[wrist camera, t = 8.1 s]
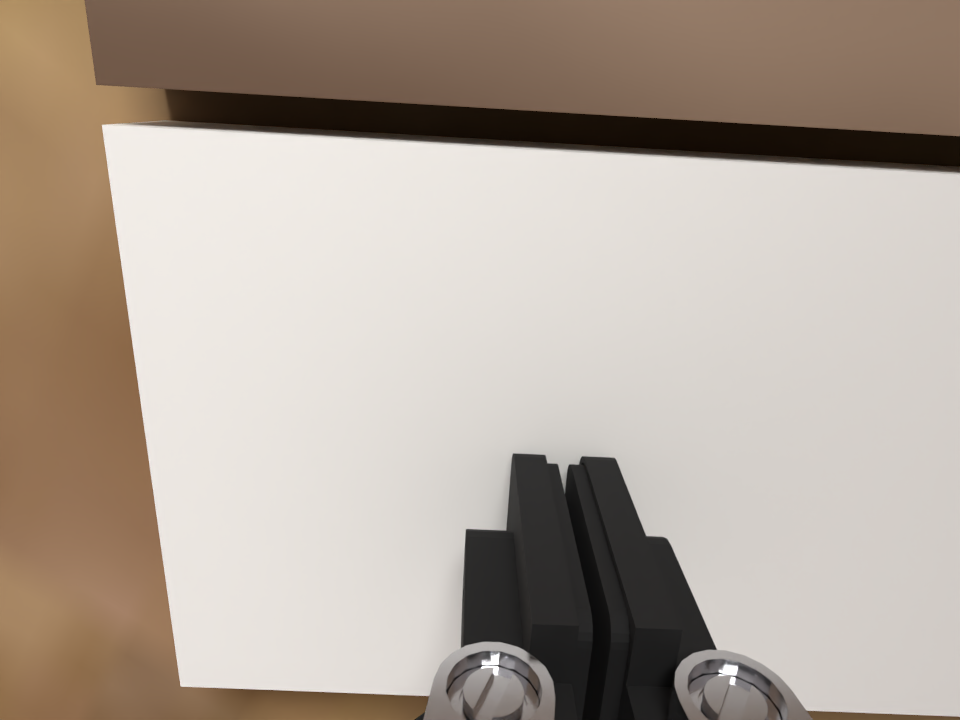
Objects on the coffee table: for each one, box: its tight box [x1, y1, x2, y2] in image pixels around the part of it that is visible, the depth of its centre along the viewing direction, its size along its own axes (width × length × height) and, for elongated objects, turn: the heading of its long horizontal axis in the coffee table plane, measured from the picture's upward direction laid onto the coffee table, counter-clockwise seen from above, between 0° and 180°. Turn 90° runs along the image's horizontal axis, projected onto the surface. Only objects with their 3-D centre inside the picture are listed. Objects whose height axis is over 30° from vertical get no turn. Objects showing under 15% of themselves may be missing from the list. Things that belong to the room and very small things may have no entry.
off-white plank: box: [102, 120, 960, 717], centre depth 12 cm, size 10×24×2 cm, turn 87°
